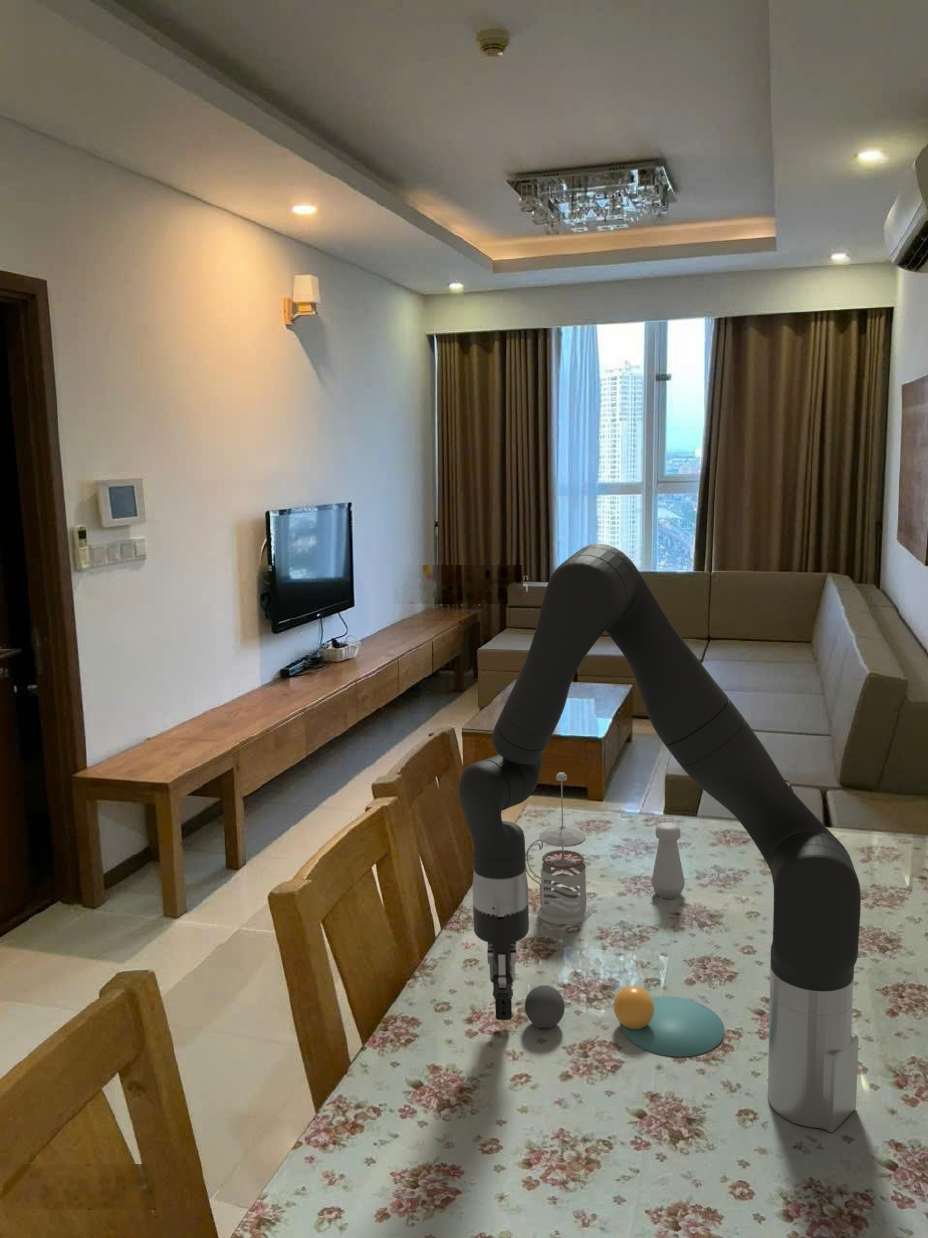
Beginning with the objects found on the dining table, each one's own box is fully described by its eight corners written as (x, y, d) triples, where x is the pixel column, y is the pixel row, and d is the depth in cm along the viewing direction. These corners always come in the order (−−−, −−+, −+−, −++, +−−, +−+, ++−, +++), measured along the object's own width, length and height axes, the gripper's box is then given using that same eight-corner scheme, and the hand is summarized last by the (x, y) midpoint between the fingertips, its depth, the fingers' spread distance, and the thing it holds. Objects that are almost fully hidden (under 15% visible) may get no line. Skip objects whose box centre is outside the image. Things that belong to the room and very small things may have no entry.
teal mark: (744, 1025, 132) (744, 1023, 132) (685, 1070, 123) (685, 1069, 123) (659, 986, 142) (659, 985, 142) (599, 1026, 133) (599, 1025, 133)
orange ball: (599, 1009, 133) (624, 1038, 133) (624, 1009, 128) (650, 1039, 129) (618, 978, 136) (642, 1006, 137) (643, 977, 132) (668, 1006, 132)
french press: (586, 927, 161) (584, 784, 157) (518, 919, 165) (515, 779, 161) (597, 901, 170) (595, 765, 166) (533, 894, 174) (530, 761, 170)
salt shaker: (661, 884, 176) (661, 816, 174) (690, 892, 173) (690, 823, 170) (645, 896, 172) (645, 826, 170) (675, 904, 168) (675, 833, 166)
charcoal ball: (511, 997, 133) (523, 1033, 134) (542, 1002, 129) (554, 1039, 130) (535, 975, 137) (547, 1010, 138) (565, 979, 133) (577, 1015, 134)
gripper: (474, 879, 137) (477, 991, 140) (471, 923, 124) (475, 1046, 127) (526, 878, 137) (529, 990, 140) (529, 922, 124) (532, 1045, 127)
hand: (503, 1017), depth 133 cm, fingers closed
